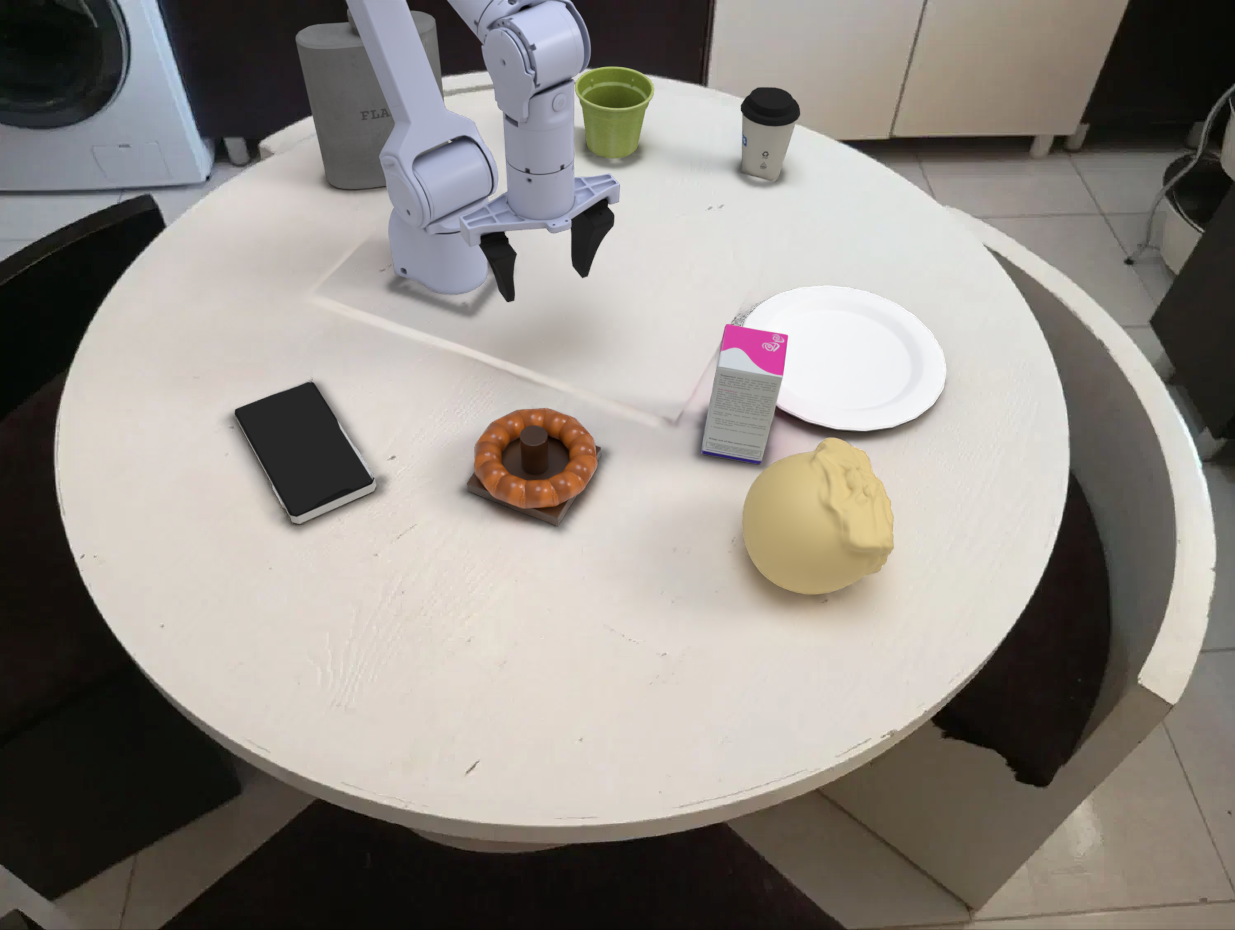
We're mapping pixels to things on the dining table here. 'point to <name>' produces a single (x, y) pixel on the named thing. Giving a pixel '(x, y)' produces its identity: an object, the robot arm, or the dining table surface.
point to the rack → (533, 468)
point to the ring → (535, 490)
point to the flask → (353, 99)
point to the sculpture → (818, 519)
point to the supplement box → (744, 393)
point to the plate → (852, 358)
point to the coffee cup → (767, 131)
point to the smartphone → (304, 452)
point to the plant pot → (613, 109)
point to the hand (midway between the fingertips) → (543, 283)
